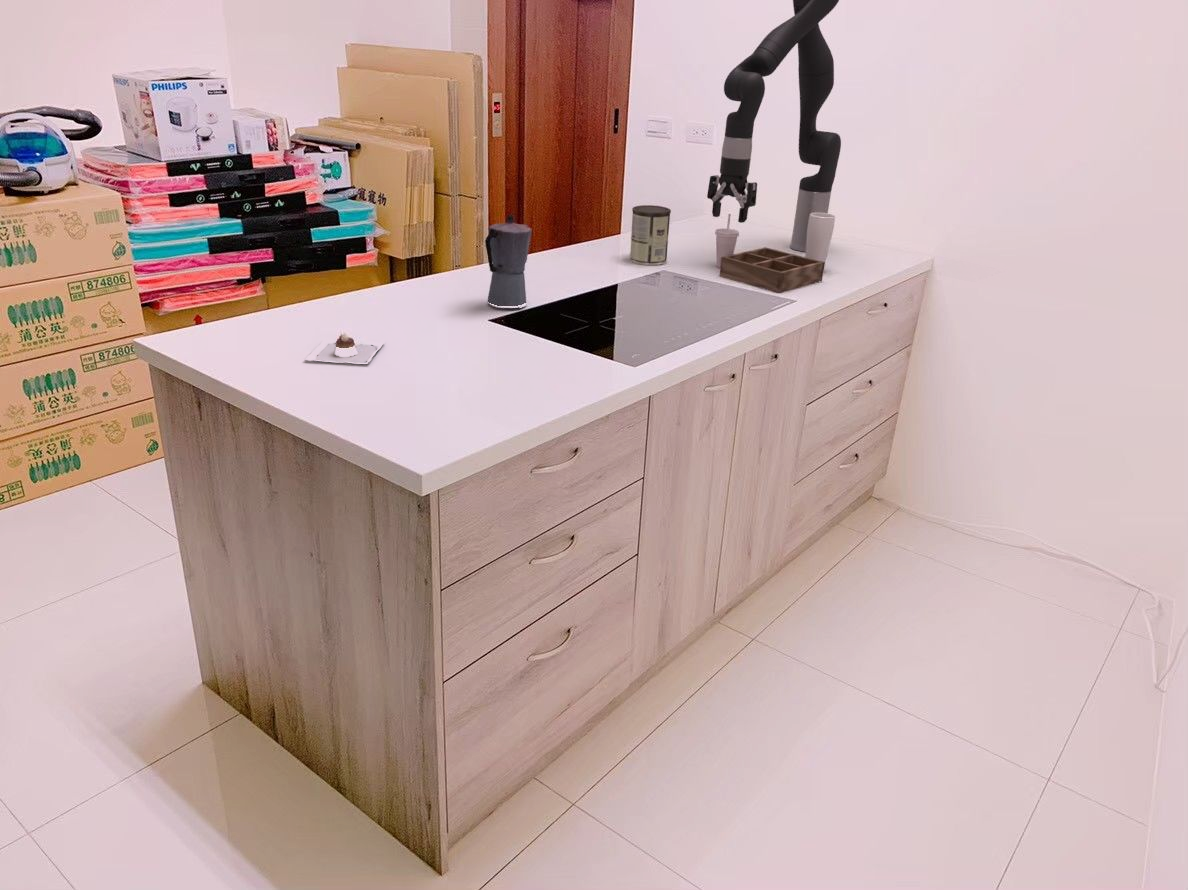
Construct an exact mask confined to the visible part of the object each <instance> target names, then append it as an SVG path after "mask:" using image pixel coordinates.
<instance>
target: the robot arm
mask: <svg viewBox="0 0 1188 890" xmlns="http://www.w3.org/2000/svg"><path fill="white" fill-rule="evenodd" d="M839 2H840V0H792V5H793V12H794V13H793V14H794V15H793V16H792V17H790V18H789V19H787V20H785V21H784V22H782V23H781V24H779V25H778V26H776V27H775V28H773V29H772V30H771V31H770V32H769V33H768V34H767V35H765V37H764V38H763V40H762V41H761V42H760V43H759V44H758V46H757V47H756V48H755V49H754V51H753V52H752V53H751V54H750V55H749V56H748V57H746V58H745V59H744V60H743V61H740V63H738V65H736V66H735V67H734V68H733V69H732V70H731V71H730V72H729V73H728V75H727V76H726V79H725V80H724V84H723V93H724V95H725V97H726V98H727V99H728V100H729V101H730V100H731V101H733V102H740V104H739V106H738V108H737V111H733V112H730V113H728V114H727V117H726V121H725V128H724V129H725V130H724V137H723V142H722V143H723V144H722V148H721V149H722V150H721V159H720V166H719V173H720V176H719V175H717V174H715V175H710V176H709V182H708V186H707V187H708V188H707V195H706V197H707V199H708V200H711V201H712V211H711V214H712V217H713V218H719V217H720V216H721V209H722V202H721V201H722V200H723V199H724V198H725V197H727V196H729V197H731V198H735V200H736V201H737V202H738V204H739V206H740V207H739V213H738V220H737V222H738V223H746V221H747V219H748V213H749V208H751V207H755V206H756V205H757V192H758V183H757V182H756V181H755V182H748V176H749V173H750V168H751V167H750V166H751V159H752V152H753V151H752V149H753V135H754V134H753V133H754V126H755V121H756V118H757V115H758V114H759V111H760V107H761V105H762V102H763V99H764V97H765V93H766V91H765V90H766V84H765V80H764V77H768V76H771V75H772V74H773V73H774V72H775V71H776V70H777V69H778V67H779V66H780V64H781V63H782V62H783V60H784V59H785V58H786V57H787V56H788V55H789V53H790V52H791V50H792V49H794V47H796V45H797V56H798V58H797V59H798V89H799V127H798V128H799V129H798V131H799V132H798V156H799V159H800V161H801V162H802V163H804V164H806V165H813V166H819V170H818V172H817V173H815V174H813V175H808V176H805V177H802V178H801V179H800V181H799V187H798V194H797V201H796V208H795V214H794V222H793V227H792V235H791V243H790V248H791V249H793V250H795V251H799V252H805V253H806V240H807V228H808V221H809V216H810V214H811V213H828V214H829V209H830V208H829V207H830V202H831V197H832V196H831V195H832V190H833V189H832V188H833V184H834V181H835V178H836V173H837V168H838V162H839V158H840V154H841V147H842V139H841V136H840V134H838V133H837V132H831V131H821V130H817V117H818V114H819V112H820V110H821V108H822V106H824V103H825V102H826V101H827V99H828V98H829V95H830V94H831V92H832V89H833V88H834V83H835V64H834V63H835V62H834V57H833V53H832V51H831V49H830V47H829V44H828V43H827V41H826V39H825V37H824V35H823V33H822V31H821V28H820V24H819V23H820V22H821V21H822V20H823V19H824V18H825V17H827V15H829V14H830V13H831V12H832V11H833V10H834V9H835V8H836V6H837V5H838V3H839ZM719 185H720V186H719Z"/></svg>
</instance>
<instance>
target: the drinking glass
mask: <svg viewBox="0 0 1188 890" xmlns="http://www.w3.org/2000/svg"><path fill="white" fill-rule="evenodd" d="M835 222H836V215H834V214H832V213H829V212H828V213H811V214H810V216H809V221H808V228H807V240H806V252H805V254H804V257H806V258H810V259H814V260H818V261H822V262H825V263H826V261H827V259H828V258H827V257H828V254H829V253H828V252H829V249H830V246H831V242H832V241H831V240H832V237H833V233H834V229H835ZM825 266H826V264H825V265H824V268H825Z"/></svg>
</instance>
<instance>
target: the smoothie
mask: <svg viewBox="0 0 1188 890" xmlns="http://www.w3.org/2000/svg"><path fill="white" fill-rule="evenodd" d="M730 222H731V213H728V216H727V226H726V228H724V227H723V228H722V227H721V228H716V229H715V233H714V234H715V242H716V243H715V245H716V248H715V251H716V253H715V254H716V260H715V261H716V267H717V268H719V269H720V266H721V257H724V256H728V255H733V254H735V248H736V245H737V241H738V237H739V236H740V231H739V230H738V229H737V230H736V229H735V228H734V229H733V228H730V224H731V223H730Z"/></svg>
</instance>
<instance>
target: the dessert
mask: <svg viewBox="0 0 1188 890" xmlns="http://www.w3.org/2000/svg"><path fill="white" fill-rule="evenodd" d="M336 339H337V341H336V344H335V346H336V347H339V348H349V347H353V346H354V345H355V343H354V338H353V337H349V336H348V335H347V333H346V332H344V333H343V334H342V333H340V335H339V338H336Z"/></svg>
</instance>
